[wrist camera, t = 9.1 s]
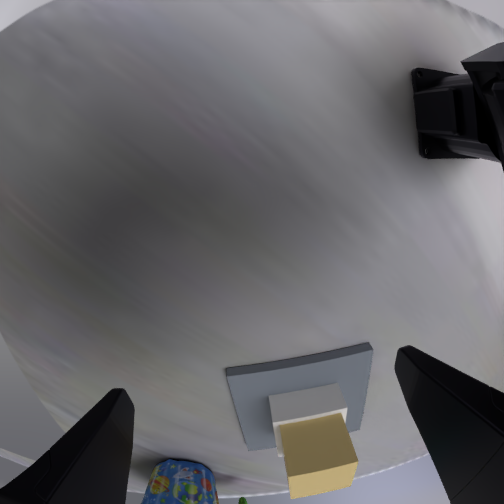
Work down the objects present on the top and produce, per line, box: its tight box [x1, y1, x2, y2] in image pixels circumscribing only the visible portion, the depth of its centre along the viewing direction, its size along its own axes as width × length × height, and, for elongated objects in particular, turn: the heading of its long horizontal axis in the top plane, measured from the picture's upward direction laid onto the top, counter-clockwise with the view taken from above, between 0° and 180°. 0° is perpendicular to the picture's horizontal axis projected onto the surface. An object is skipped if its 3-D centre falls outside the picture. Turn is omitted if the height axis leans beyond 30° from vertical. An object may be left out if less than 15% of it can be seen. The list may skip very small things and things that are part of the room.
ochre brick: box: [280, 413, 358, 499], centre depth 20 cm, size 5×5×5 cm
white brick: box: [269, 383, 347, 457], centre depth 23 cm, size 6×6×3 cm
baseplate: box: [227, 343, 373, 451], centre depth 25 cm, size 12×12×1 cm
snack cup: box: [141, 459, 247, 504], centre depth 25 cm, size 16×10×10 cm
